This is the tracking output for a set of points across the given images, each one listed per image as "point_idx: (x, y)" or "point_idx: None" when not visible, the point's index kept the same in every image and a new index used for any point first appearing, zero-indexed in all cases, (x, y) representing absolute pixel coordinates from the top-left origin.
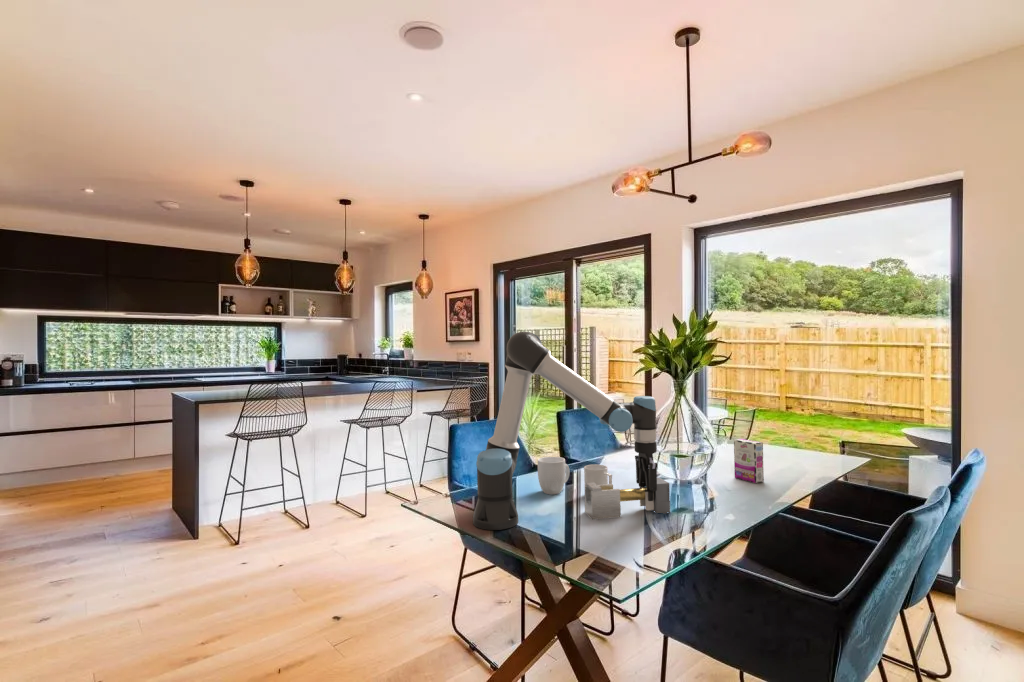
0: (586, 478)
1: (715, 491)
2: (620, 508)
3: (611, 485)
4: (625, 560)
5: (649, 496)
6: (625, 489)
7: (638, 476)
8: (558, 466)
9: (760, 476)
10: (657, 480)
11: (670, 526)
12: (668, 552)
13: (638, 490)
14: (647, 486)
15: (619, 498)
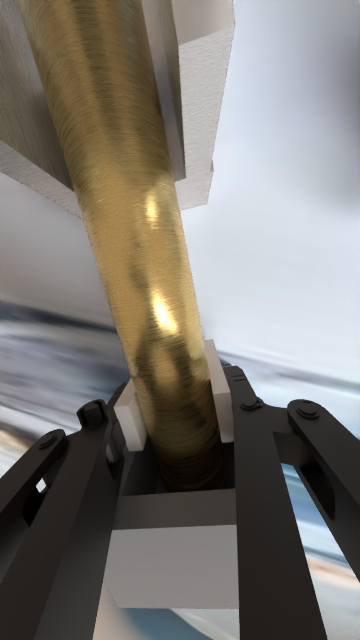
0: None
1: (357, 587)
2: (81, 217)
3: (172, 21)
4: None
5: (109, 401)
6: (124, 251)
7: (338, 488)
8: None
9: None
10: (204, 573)
11: (28, 384)
12: None
13: (131, 363)
14: (71, 452)
15: (33, 184)
